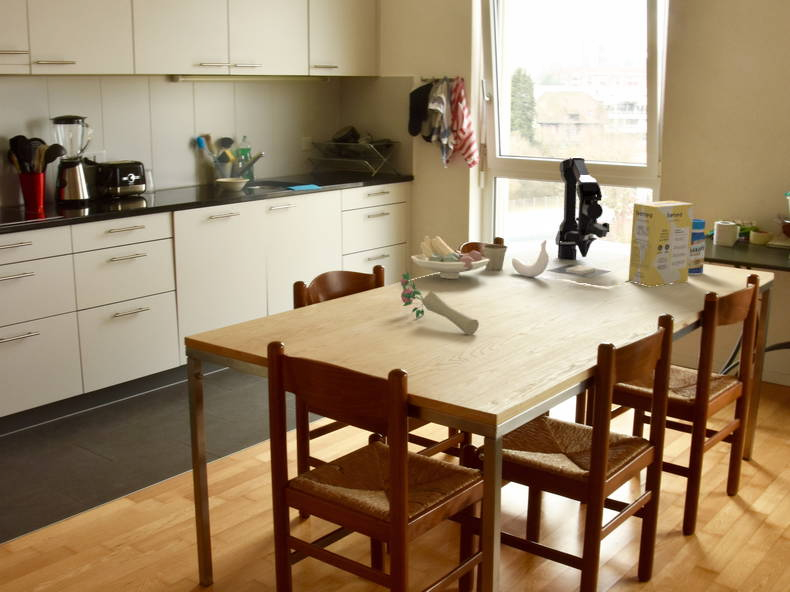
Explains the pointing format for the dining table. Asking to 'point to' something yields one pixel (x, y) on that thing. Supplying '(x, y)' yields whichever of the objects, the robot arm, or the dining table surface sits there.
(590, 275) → the slate board
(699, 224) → the beverage bottle
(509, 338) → the dining table surface
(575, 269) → the tile
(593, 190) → the robot arm
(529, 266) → the banana
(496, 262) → the flower pot
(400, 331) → the dining table surface
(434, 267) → the dish with food
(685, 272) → the pasta box
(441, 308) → the flower vase
